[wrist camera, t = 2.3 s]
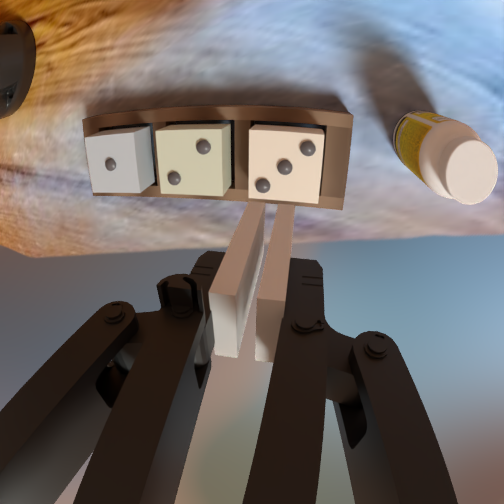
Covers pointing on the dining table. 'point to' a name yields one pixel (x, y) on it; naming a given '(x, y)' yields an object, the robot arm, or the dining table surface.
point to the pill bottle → (446, 156)
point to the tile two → (194, 159)
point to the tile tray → (246, 144)
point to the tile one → (120, 160)
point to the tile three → (285, 163)
